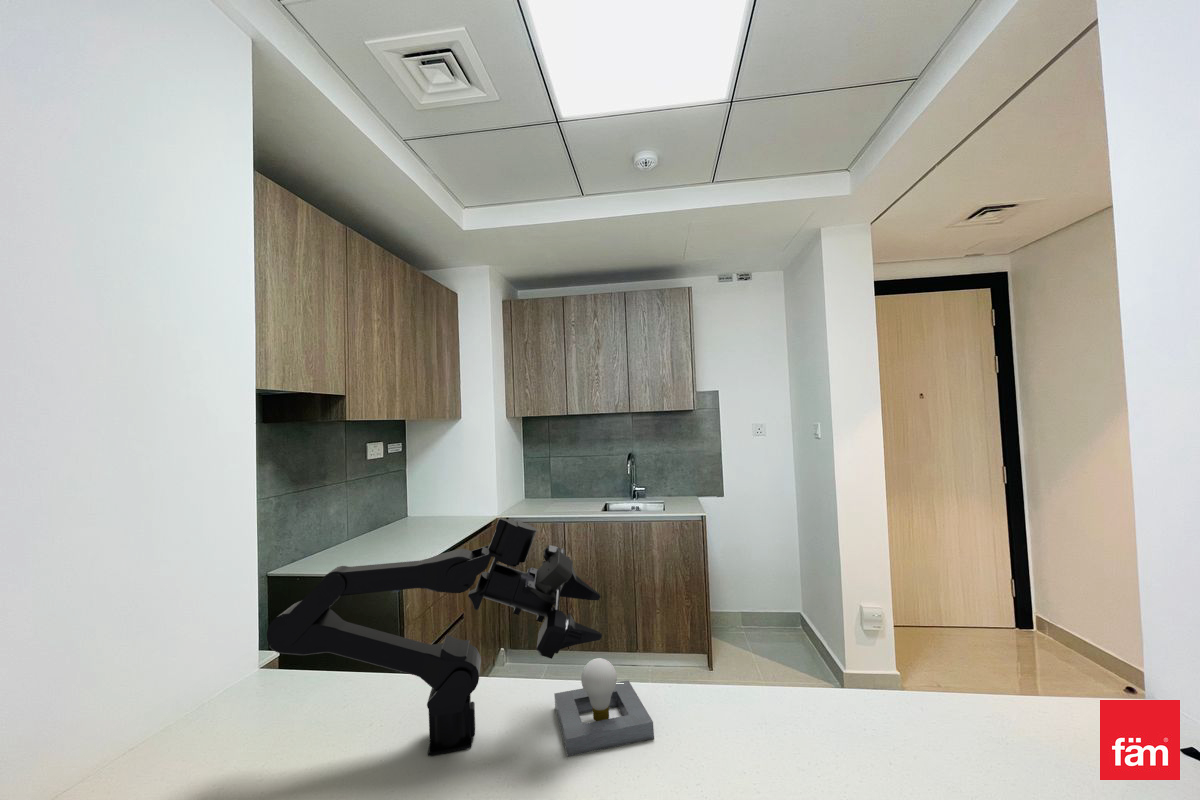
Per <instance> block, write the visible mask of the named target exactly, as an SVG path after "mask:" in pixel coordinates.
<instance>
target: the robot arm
mask: <svg viewBox="0 0 1200 800" xmlns="http://www.w3.org/2000/svg"><path fill="white" fill-rule="evenodd" d="M495 526H496V527H495V531H494V533H493V536H492V538H491V541H490V543H489V545H488V544H487V545H485V546H482V547H478V548H476V549H473V550H470V549H467V548H458V549H454V550H451V551H447V552H443V553H439V554H437V555H433V556H431V557H428V558H424V559H421V560H413V561H412V560H411V561H410V560H409V561H400V562H398V561H397V562H389V563H377V564H367V565H366V564H365V565H356V566H347V565H340V566H337V567H335V568H334V569H332V570H331V571H329V572H328V573H327V574H326V575H324V577H323V578H322V579H321V581H320V582H319V583H318V584H317V585H316V586H315V587H314V588H313V589H312V590H311V591H310V592H309V593H308V594H307V595H306V596H305V597H304V598H303V599H302V600H300V601H297V602H295V603H294V604H292V605H290V606H289V607H288V608H287V609H286V610H284V611H283V612H282V613H280V614H278V615H277V616H276V617H275V618H274V619H272V621H271V622H270V623H269V625H268V627H267V630H266V640H267V643H268V645H269V646H268V647H269V649H271V650H272V651H273V652H276V653H277V654H282V655H295V656H308V655H315V654H316V655H317V654H324V653H327V654H333V655H337V656H340V657H344V658H347V659H348V658H349V659H352V660H356V661H359V662H363V663H367V664H370V665H375V666H378V667H382V668H385V669H389V670H394V671H397V672H401V673H405V674H408V675H412V676H416V677H418V678H420V679H421V680H422V681H424V682H425V683H426V684H427V685H429V687H430V688H431V690H430V693H429V696H428V699H427V703H426V707H427V709H428V730H429V731H428V732H429V733H428V734H429V744H428V750H427V755H428V756H430V757H431V756H436V755H441V754H445V753H452V752H457V751H461V750H466V749H470V748H471V747H473V738H474V737H475V736H476V709H475V708H476V707H475V706H476V705H475V702H474V701H471V700H472V698H471V697H472V696H471V695H472V693H473V692H474V691H475V690H476V689H477V686H478V684H479V681H480V674H481V673H480V672H481V664H482V657H481V654H480V652H479V650H478V648H477V647H475V646H474V645H472V644H470V639H464V640H463V639H458V638H456V637H454V636H452V635H448V634H446V635H445V637H444V641H443V643H434V644H429V643H425V642H422V641H418V640H415V639H411V638H407V637H403V636H399V635H396V634H393V633H389V632H385V631H382V630H378V629H375V628H371V627H367V626H363V625H360V624H356V623H353V622H349V621H346V620H344V619H343V618H341V616H339V615H338V614H337V613H336V612H335V611H333V609H331V607H332V606H333V605H334V604H335V603H336V602H337V601H338V600H339V599H340V597H343V596H351V595H352V596H353V595H354V596H355V595H362V594H371V593H373V594H374V593H381V592H383V593H385V592H391V591H394V592H395V591H402V590H410V589H411V590H413V589H424V590H428V591H433V592H437V593H448V594H449V593H450V594H461V593H465V592H466V591H468V590H469V589H470V588H471V587H472V586H473V585H474V584H475V582H476V579H477V576H478V575H479V578H478V581H477V583H476V586H475V588H473V589H471V590H469V592H468V594H467V595H468V598H469V600H470V601H471V603H472V605H473V609H474V610H475V611H477V610H479V609H480V606H481V604H482V601H483V599H487V600H490V601H493V602H496V603H500V604H502V605H505V606H509V607H511V608H513V612H512V613H513V615H517V616H520V613H521V611H524V612H528V613H531V614H533V615H536V622H540V623H542V624H541V626H540V628H539V631H538V634H537V641H536V652H537V653H538V654H539V656H542V657H544V658H548V659H550V660H551V659H553V657H554V655H555V654H559V652H560V650H562V649H566V648H569V647H572V646H573V647H574V646H577V645H580V644H581V645H582V644H586V643H591V642H592V643H593V642H596V641H597V642H598V641H601V639H602V637H603V633H602V632H600V631H598V630H596V629H594V628H592V627H589V626H586V625H584V624H581V623H579V622H576V621H575V620H574V618H573V617H572V614H571V613H569V612H568V614H567V615H566V614H565V613H564V612H563V611H562V610H560V600H561V598H568V599H569V598H571V599H578V600H584V601H585V600H586V601H600V599H601V594H600V593H599V592H598V591H596V590H595V589H594V588H593V587H591V586H590V585H588V583H586V582H585V581H583V580H582V579H581V578H580V577H579V576H578V575H577V574H576V571H575V569H574V566H573V565H574V564H573V560H572V559H571V558H570V556H567V555H566V549H565V548H564V547H563V548H560V547H558V546H556V545H551V544H549V545H547V546H546V547H545V548H544V550H543V554H542V555H543V559H544V560H543V561H542V564H541V566H540V567H539V568H535V567H528V568H527V571H526V572H525V571H521V570H520V569H516V567H518V566H520V564H521V563H525V562H527V558H528V556H529V552H530V550H531V548H532V546H533V542H534V541H535V538H536V534H537V531H538V529H537V528H536V527H534V526H532V525H530V524H528V523H526V522H523V521H520V520H517V521H516V520H512V519H506V518H503V517H499V518H498V520H497V522H496V525H495ZM492 557H493V559H491V558H492ZM491 560H492V562H491V565H490V567H489V569H488V571H485V570H487V568H488V566H489V564H490V561H491ZM498 562H499V563H498ZM513 567H515V568H513Z"/></svg>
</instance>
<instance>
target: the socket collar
mask: <svg viewBox="0 0 1200 800" xmlns="http://www.w3.org/2000/svg"><path fill="white" fill-rule="evenodd" d="M616 683H624V684H616V686H615V689H614V691H613V693H612V695H611V699H610V704H609V709H612V708H616V707H617V708H618V710H619V711H620V714H621V716H615V717H612V718H610V717H609V719H605V720H600V721H595V720H594V721H592V722H585V723H583V722H582V719H581V716H580V714H584V713H588V712H589V713H590V712H593V709H592V705H591V702H590V699H589V697H588V695H587V694H586V692H585V691H584V689H583V687H582V688H577V689H573V690H565V691H560V692H556V693H554V710H555V713H556V717H557V722H558V726H559V731H560V732H561V737H562V742H563V745H564V749H565V752H566V756H567V757H574V756H577V755H583V754H587V753H593V752H597V751H602V750H607V749H612V748H615V747H620V746H625V745H630V744H634V743H639V742H640V743H641V742H644V741H650V740H654V739H655V734H654V733H655V731H654V729H655V728H654V721H653V719H652V717H651V715H650V714H649V712H648V710H647V709H646V707H645V705H644V704H643V702H642V700H641V699H640V697H639V696H638V693H636V691H635V689H634V687H633V685H632V684H631V683H630V680H628V679H627V680H622V681H617V682H616Z"/></svg>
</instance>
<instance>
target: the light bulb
mask: <svg viewBox="0 0 1200 800" xmlns="http://www.w3.org/2000/svg"><path fill="white" fill-rule="evenodd" d="M617 680H618V677H617V671H616V669H615V667H614V665H613V664H612V663H611V662H610V661H609V660H607V659H605V658H600V657H599V658H598V657H597V658H594V659H591V660H590V661H588V662H587V663H586V665H584V668H583V669H582V672H581V680H580V681H581V684H582V685H581V686H582V688H583V689H584V691H585V692H586V694H587V695H588V697H589V699H590V702H591V705H592V709H593V711H592V717H593V718H592V719H593V720H594V722H595V721H600V720H605V719H610V708H609V704H610V699H611V695H612V693H613V691H614V689H615V686H616V682H618V681H617Z"/></svg>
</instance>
